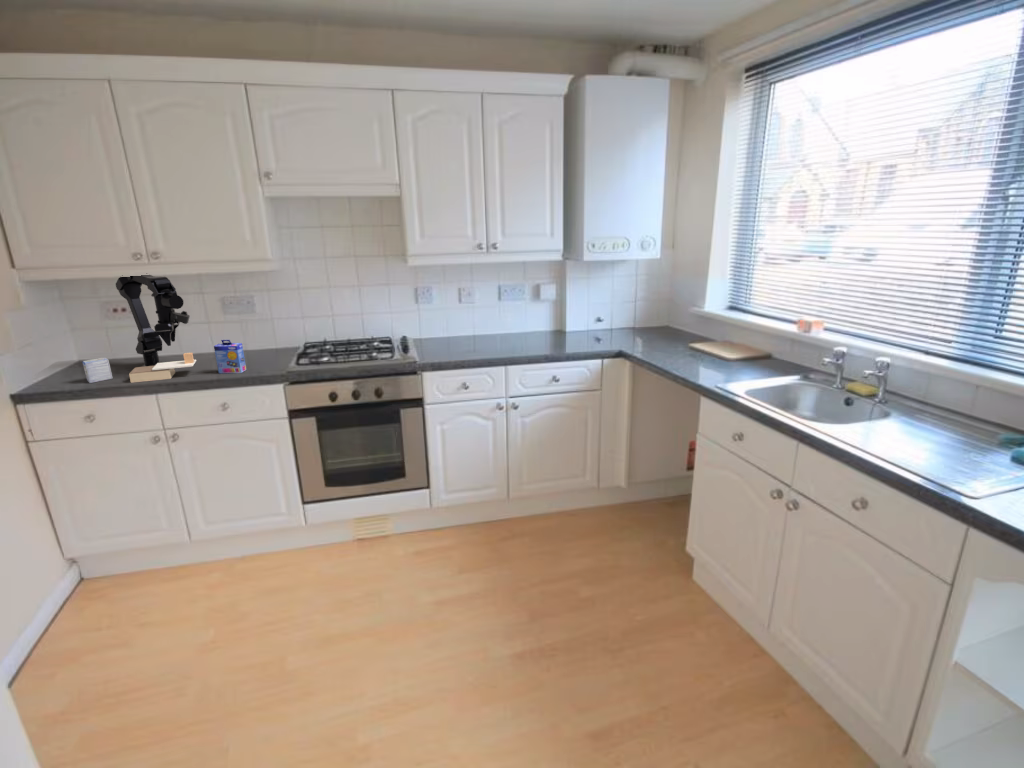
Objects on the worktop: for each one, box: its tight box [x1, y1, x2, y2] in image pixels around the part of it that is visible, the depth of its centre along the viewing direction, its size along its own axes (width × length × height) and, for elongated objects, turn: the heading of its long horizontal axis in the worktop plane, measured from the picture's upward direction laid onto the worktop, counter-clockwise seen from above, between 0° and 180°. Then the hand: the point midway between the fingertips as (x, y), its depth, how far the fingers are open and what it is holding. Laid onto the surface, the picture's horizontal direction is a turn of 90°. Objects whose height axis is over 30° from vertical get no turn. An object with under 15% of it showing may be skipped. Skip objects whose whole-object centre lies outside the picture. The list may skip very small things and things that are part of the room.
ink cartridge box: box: [213, 339, 247, 374], centre depth 229 cm, size 10×6×14 cm, turn 93°
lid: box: [152, 352, 197, 370], centre depth 226 cm, size 10×14×5 cm
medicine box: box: [81, 357, 113, 384], centre depth 221 cm, size 8×4×9 cm, turn 141°
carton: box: [128, 366, 176, 384], centre depth 224 cm, size 10×14×4 cm
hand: (171, 343), depth 231 cm, fingers open, 9 cm apart
